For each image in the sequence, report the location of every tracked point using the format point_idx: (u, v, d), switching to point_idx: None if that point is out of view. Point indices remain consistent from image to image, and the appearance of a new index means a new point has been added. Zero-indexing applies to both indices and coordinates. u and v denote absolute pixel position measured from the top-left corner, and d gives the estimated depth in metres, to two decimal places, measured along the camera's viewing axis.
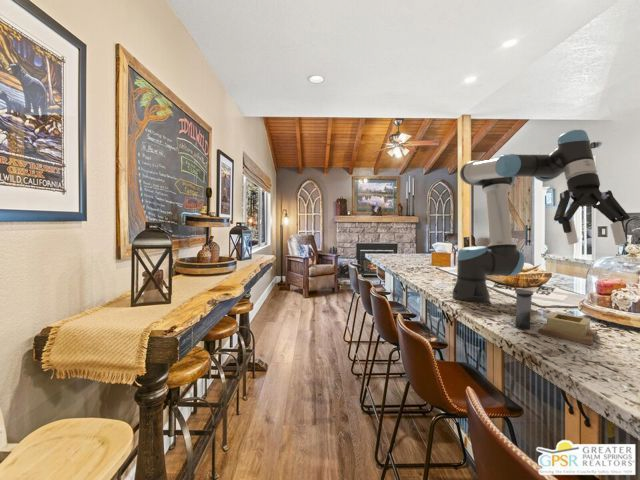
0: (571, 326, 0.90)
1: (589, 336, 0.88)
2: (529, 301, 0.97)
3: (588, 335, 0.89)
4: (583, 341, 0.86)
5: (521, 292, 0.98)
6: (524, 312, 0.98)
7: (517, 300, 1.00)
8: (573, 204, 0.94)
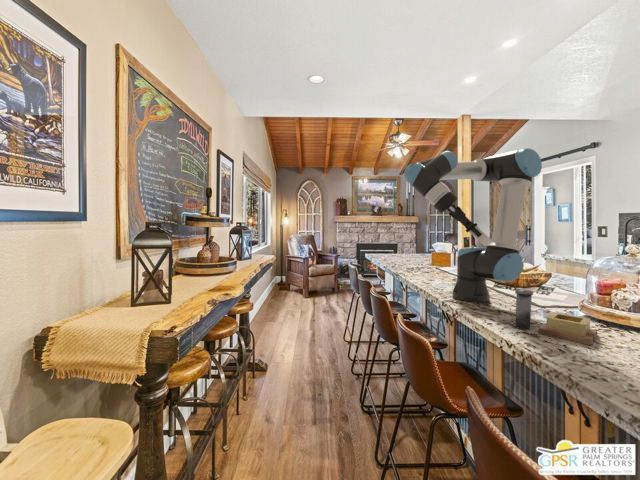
0: (571, 326, 0.90)
1: (589, 336, 0.88)
2: (529, 301, 0.97)
3: (588, 335, 0.89)
4: (583, 341, 0.86)
5: (521, 292, 0.98)
6: (524, 312, 0.98)
7: (517, 300, 1.00)
8: None
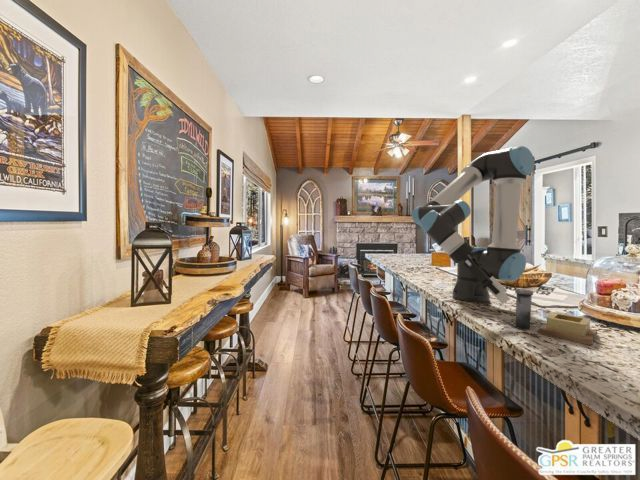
0: (571, 326, 0.90)
1: (589, 336, 0.88)
2: (529, 301, 0.97)
3: (588, 335, 0.89)
4: (583, 341, 0.86)
5: (521, 292, 0.98)
6: (524, 312, 0.98)
7: (517, 300, 1.00)
8: None
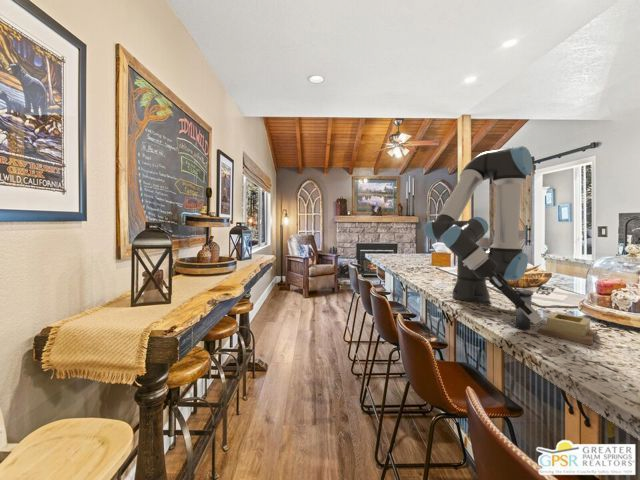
0: (571, 326, 0.90)
1: (589, 336, 0.88)
2: (529, 301, 0.97)
3: (588, 335, 0.89)
4: (583, 341, 0.86)
5: (521, 292, 0.98)
6: None
7: None
8: None
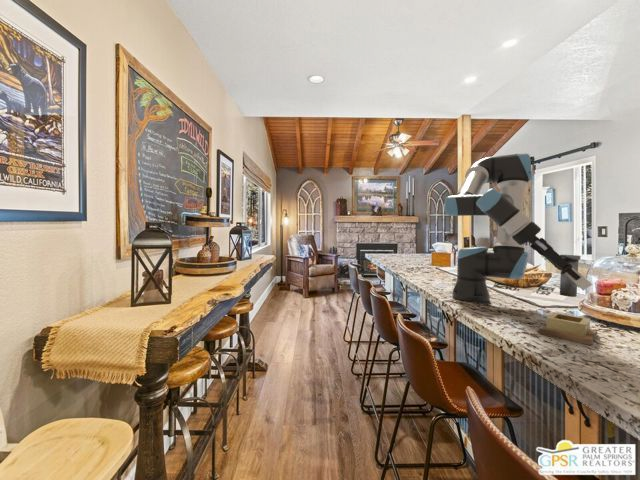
0: (571, 326, 0.90)
1: (589, 336, 0.88)
2: (576, 266, 0.91)
3: (588, 335, 0.89)
4: (583, 341, 0.86)
5: (567, 256, 0.91)
6: None
7: None
8: None
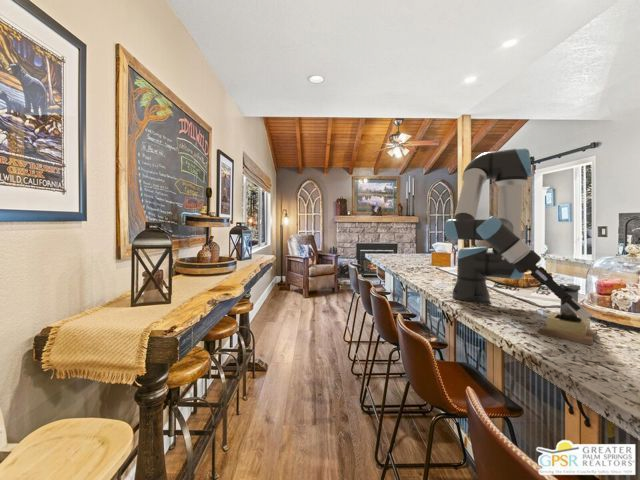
0: (571, 326, 0.90)
1: (589, 336, 0.88)
2: (576, 296, 0.91)
3: (588, 335, 0.89)
4: (583, 341, 0.86)
5: (567, 287, 0.92)
6: None
7: None
8: None
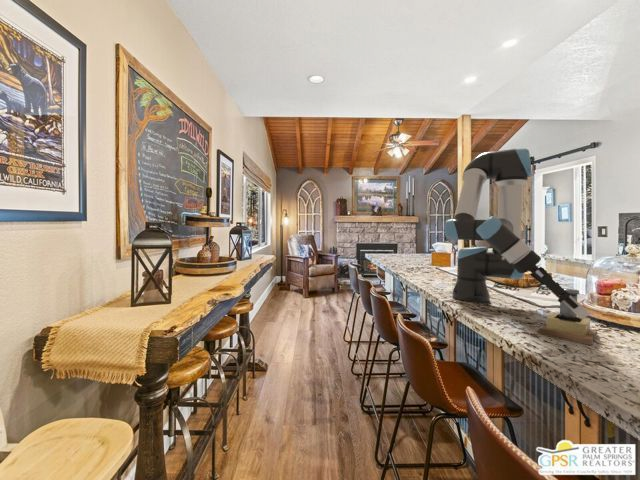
0: (571, 326, 0.90)
1: (589, 336, 0.88)
2: None
3: (588, 335, 0.89)
4: (583, 341, 0.86)
5: (566, 291, 0.92)
6: (569, 312, 0.92)
7: None
8: None
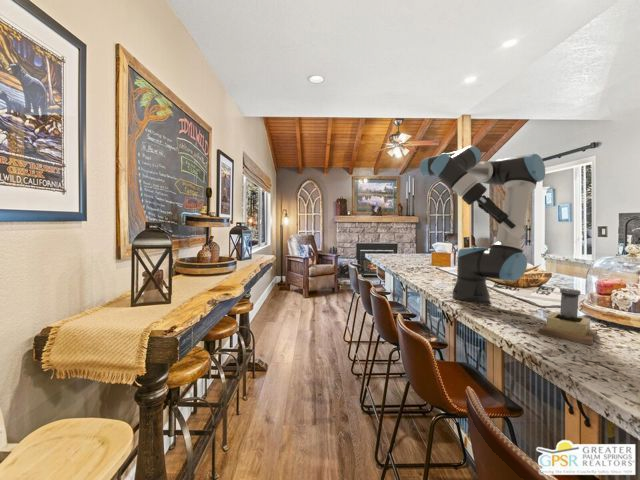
0: (571, 326, 0.90)
1: (589, 336, 0.88)
2: (576, 301, 0.91)
3: (588, 335, 0.89)
4: (583, 341, 0.86)
5: (567, 292, 0.92)
6: (570, 313, 0.92)
7: (562, 300, 0.93)
8: None
